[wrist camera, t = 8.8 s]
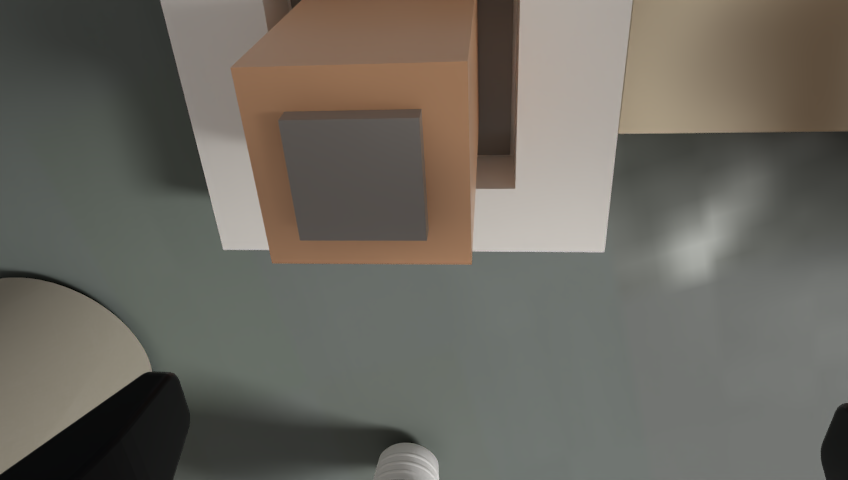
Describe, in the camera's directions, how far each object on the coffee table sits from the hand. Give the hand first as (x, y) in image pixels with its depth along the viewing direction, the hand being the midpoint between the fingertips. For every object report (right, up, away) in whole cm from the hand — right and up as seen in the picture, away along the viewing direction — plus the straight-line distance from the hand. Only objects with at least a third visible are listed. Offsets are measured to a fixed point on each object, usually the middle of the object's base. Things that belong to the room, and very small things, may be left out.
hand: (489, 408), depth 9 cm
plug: (-1, +7, +9) cm, 11 cm away
